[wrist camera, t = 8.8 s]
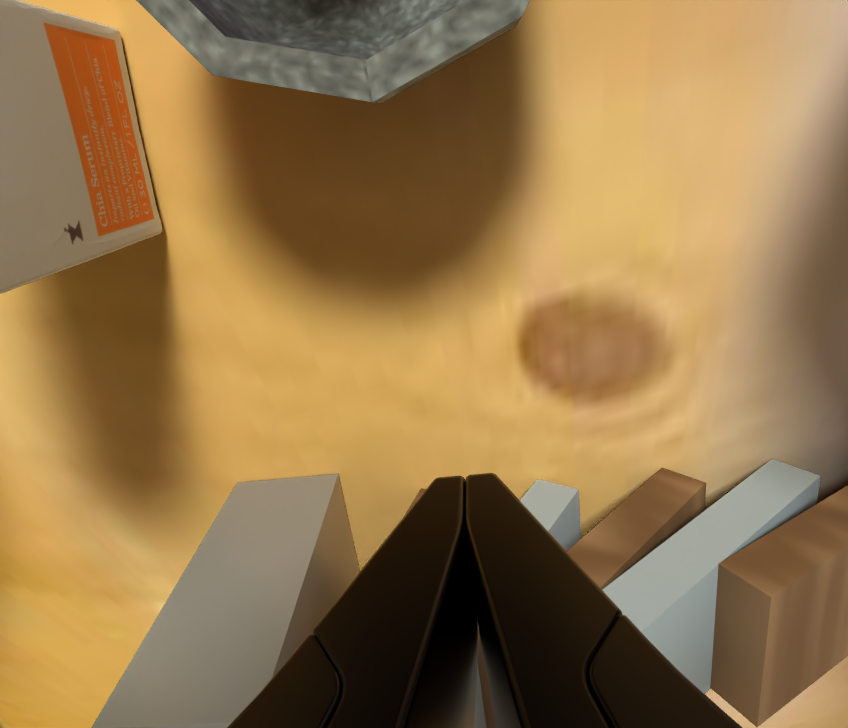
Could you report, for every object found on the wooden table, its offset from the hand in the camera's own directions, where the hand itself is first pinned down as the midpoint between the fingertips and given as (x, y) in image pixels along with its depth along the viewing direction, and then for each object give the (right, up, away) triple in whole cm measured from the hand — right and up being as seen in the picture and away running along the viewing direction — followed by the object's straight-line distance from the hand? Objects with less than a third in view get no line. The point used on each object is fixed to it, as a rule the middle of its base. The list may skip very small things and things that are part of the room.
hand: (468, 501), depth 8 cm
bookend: (-5, -6, +16) cm, 17 cm away
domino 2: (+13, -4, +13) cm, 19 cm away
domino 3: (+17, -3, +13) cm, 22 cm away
